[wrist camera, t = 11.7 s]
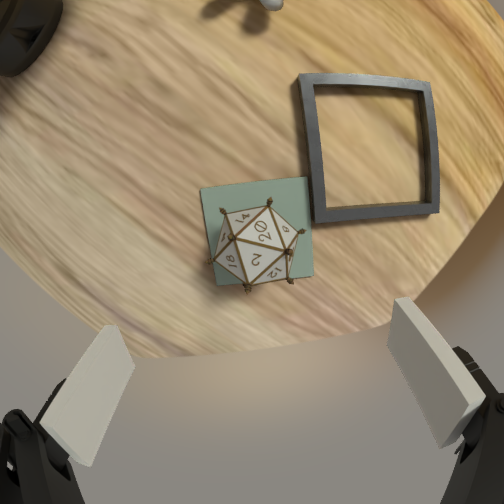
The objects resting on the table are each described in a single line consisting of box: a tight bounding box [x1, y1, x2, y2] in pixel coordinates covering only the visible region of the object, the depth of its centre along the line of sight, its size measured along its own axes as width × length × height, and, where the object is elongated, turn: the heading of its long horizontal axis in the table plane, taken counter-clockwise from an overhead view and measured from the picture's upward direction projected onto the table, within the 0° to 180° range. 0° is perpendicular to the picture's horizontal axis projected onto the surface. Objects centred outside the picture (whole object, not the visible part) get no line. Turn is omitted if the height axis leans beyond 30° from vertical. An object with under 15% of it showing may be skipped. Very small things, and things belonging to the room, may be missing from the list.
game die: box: [205, 197, 307, 294], centre depth 26 cm, size 9×8×10 cm
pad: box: [200, 176, 314, 286], centre depth 30 cm, size 11×11×1 cm
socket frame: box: [297, 73, 440, 223], centre depth 26 cm, size 15×15×2 cm
